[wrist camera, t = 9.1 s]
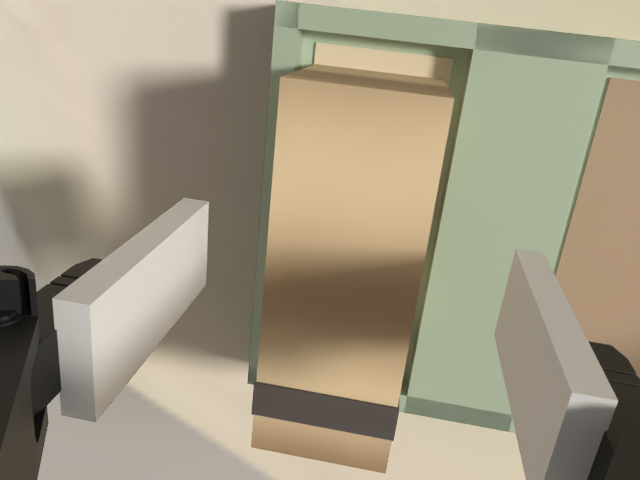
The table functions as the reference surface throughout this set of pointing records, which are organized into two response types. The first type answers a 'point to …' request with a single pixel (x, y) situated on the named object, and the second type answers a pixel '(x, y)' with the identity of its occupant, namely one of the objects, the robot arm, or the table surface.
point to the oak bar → (345, 258)
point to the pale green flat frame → (495, 185)
